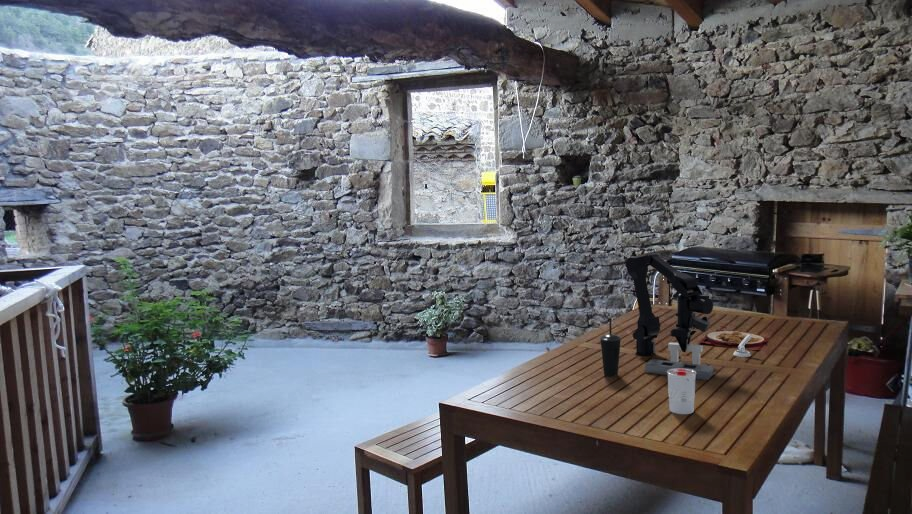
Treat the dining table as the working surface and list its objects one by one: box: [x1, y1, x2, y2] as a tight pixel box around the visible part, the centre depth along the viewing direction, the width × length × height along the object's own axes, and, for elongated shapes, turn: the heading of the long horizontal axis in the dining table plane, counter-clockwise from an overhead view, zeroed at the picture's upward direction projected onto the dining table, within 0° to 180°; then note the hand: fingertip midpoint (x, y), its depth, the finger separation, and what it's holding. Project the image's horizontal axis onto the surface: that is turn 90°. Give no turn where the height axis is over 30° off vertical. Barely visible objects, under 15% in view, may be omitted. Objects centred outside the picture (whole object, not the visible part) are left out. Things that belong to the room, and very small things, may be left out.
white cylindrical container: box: [667, 368, 697, 415], centre depth 201 cm, size 10×8×12 cm
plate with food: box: [697, 325, 770, 351], centre depth 284 cm, size 25×26×4 cm
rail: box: [644, 358, 714, 381], centre depth 240 cm, size 22×8×3 cm, turn 57°
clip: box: [667, 342, 704, 365], centre depth 251 cm, size 12×3×7 cm, turn 57°
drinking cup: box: [599, 319, 622, 377], centre depth 241 cm, size 8×8×20 cm
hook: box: [733, 334, 751, 358], centre depth 261 cm, size 6×10×6 cm
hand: (685, 351), depth 251 cm, fingers closed on clip, 3 cm apart
